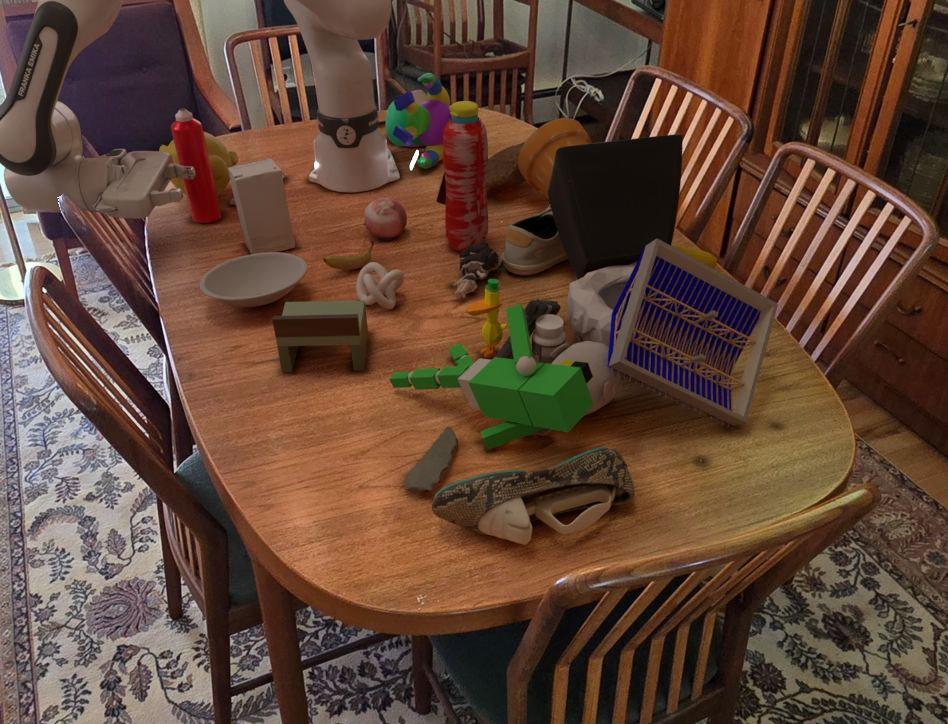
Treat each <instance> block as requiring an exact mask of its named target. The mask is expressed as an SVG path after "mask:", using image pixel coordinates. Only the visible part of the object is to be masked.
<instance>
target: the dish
mask: <svg viewBox="0 0 948 724" xmlns="http://www.w3.org/2000/svg"><path fill="white" fill-rule="evenodd" d="M307 272H308V264H307V262H306V261H305V260H304V259H303V258H302V257H300V256H298V255H296V254H293V253H288V252H282V251H278V252H265V253H256V254H251V253H250V254H245V255H241V256H237V257H235V258H231V259H228V260H225V261H223V262H221V263H219V264H218V265H215V266H214V267H212V268H210V269H209V270H208V271H207V272H206V273H204V275H203V276H202V277H201V278H200V280H199V289H200V291H201V293H202V294H204V295H205V296H206V297H208V298H211V299H214V300H217V301H219V302H221V303H224V304H226V305H229V306H232V307H238V308H254V307H260V306H265V305H268V304H271V303H274V302H275V301H278V300H279V299H282V298H283V297H284V296H286V295H287V294H288V293H289V292H291V291H292V290H293V289H294V288H295V286H296V285H297V284H298V283H299V282H300V281H301V280H302V279H303V278H304V277H305V275H306V274H307Z"/></svg>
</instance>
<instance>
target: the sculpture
mask: <svg viewBox="0 0 948 724" xmlns="http://www.w3.org/2000/svg"><path fill="white" fill-rule="evenodd" d="M203 133H204V137H205V142H206V146H207V151H208V156H209V160H210V165H211V169H212V174H213V178H214V183H215V188H216V192H217V196H218V195H220V194H221V193H222V192H223V191H225V189H226V188H227V187H228V185H229V183H230V182H231V181H230V177H229V172H228V168H229V167H234V166H237V164H238V163H239V156H238V154H237V152H236V151H234V150H233V151H232V150H231V151H230V150H228V149H227V147H226V146H225V145H224V143H223V142H222V141H221V140H220V139H218V138H217V137H216V136H214V135H213V134H211V133H208V132H206V131H203ZM158 151H159V152H166V153H169V154H171V155H172V158H173V162H174V163H176V164H179V160H178V156H177V152H176V148H175V144H174V140H173V139H172V140H171V141H170V142H169V144H168V145H165V144H161V145H160V147H159V150H158ZM170 182H171V184H172V185H173V186H174V188H175V189H177V188H180V189H181V190H182V194H183V195H185V196H187V193H186V189H185V185H184V181H183V177H176V178H172V179H171V180H170Z"/></svg>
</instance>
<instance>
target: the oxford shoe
mask: <svg viewBox="0 0 948 724" xmlns="http://www.w3.org/2000/svg"><path fill="white" fill-rule="evenodd" d="M504 242H505V243H504V251H503V253H502V256H501V260H502V262H503V263H504V264H503V267H504V268H505V270H506V271H508V272H510V273H512V274H514V275H518V276H533V275H536V274H539V273H541V272H544V271H546V270H548V269H550V268H552V267H554V266H556V265H558V264H559V263H562V262H564V261H566V260H569V259H568V256H567V254H566V252H565V249H564V247H563V244H562V241H561V239H560V236H559V233H558V230H557V227H556V223H555V220H554V217H553V213H552V210H551V206H550V204H549V205H548V207H547V208H545V209H544V210H543V211H541V212H540V213H538V214H535V215H531V216H527V217H525V218H522V219H520V220H518V221H516V222H515V221H514V222H512V223H511V224H509V225H508V228H507V232H506V235H505V241H504Z"/></svg>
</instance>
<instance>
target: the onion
mask: <svg viewBox="0 0 948 724" xmlns="http://www.w3.org/2000/svg"><path fill="white" fill-rule="evenodd" d="M407 224H408V214H407V211H406V209H405V207H404V206H403V205H402V204H401V202H399V201H398V200H397V199H395V198H391V197H381V198H377V199H374V200H373V201H371V202H370V203H369V204H368V205H367V206H366V208H365V210H364V214H363V225H364V227H365V228H366V230H367V231H368V233H370V234H371V235H372V236H374V237H376V238H378V239H380V240H383V241H384V242H386V241H389V240H392V239H395V238H396V237H399V235H400V234H402V233H403V232H404V230H405V229H406V227H407V226H408V225H407Z"/></svg>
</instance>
